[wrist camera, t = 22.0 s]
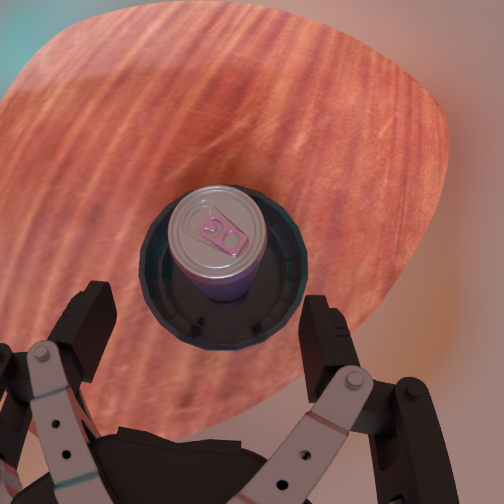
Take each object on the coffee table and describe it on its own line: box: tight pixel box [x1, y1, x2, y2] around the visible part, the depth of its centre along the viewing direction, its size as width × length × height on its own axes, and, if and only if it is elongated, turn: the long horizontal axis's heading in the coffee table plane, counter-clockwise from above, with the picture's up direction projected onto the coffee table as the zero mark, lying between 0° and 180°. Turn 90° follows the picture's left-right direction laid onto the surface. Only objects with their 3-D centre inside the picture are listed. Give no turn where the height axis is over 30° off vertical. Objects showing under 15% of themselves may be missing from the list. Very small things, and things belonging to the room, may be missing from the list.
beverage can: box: [168, 185, 267, 302], centre depth 25 cm, size 6×6×15 cm
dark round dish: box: [139, 185, 308, 351], centre depth 30 cm, size 15×15×6 cm
